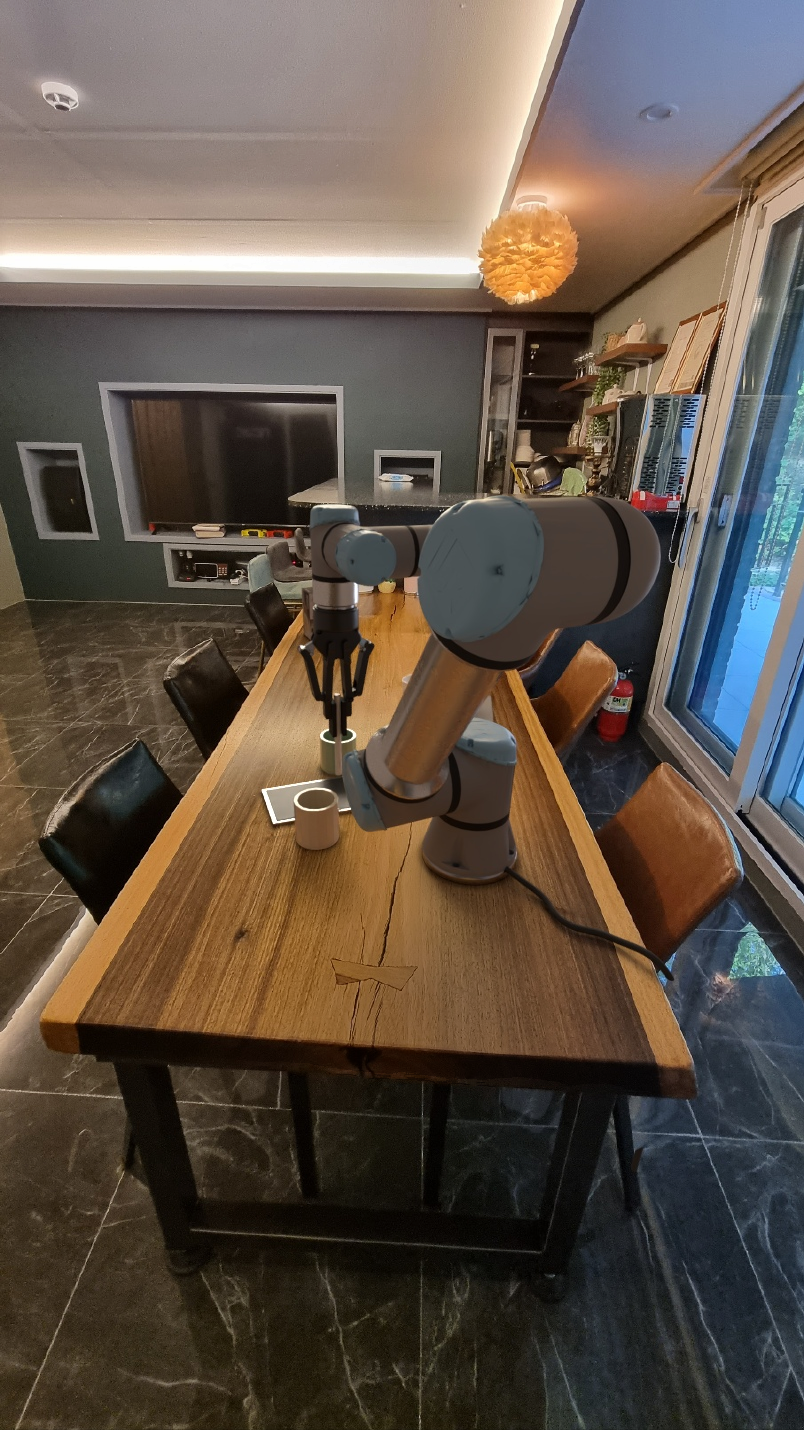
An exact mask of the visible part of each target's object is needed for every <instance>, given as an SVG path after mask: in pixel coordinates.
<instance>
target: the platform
mask: <svg viewBox="0 0 804 1430" xmlns="http://www.w3.org/2000/svg"><path fill="white" fill-rule="evenodd" d="M475 718H480V719H485V720H488V721H491V722H494V713H493V704H492V696H491V695H488V697H487V698H486V700H485V701H484V703H483V704H482V706H481V707H480V709H479V710H478V712H477V714H476V715H475Z"/></svg>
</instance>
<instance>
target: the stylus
mask: <svg viewBox="0 0 804 1430" xmlns="http://www.w3.org/2000/svg"><path fill="white" fill-rule="evenodd" d="M341 697H342V693H339V692H336V693H333V699H334V701H335V702H336V705H337V737H335V774H336V775H335V776H342V775H341V774H342V749H341Z"/></svg>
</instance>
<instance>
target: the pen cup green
mask: <svg viewBox="0 0 804 1430" xmlns="http://www.w3.org/2000/svg"><path fill="white" fill-rule="evenodd" d="M341 749H342V759H343V756H344V755H345V754H346V753H348V752H351V751H353V750H357V733H356V732H355V730H353V729H350V728H347V736H343V735H342V734H341ZM319 755H320V757H319V758H320V768H321V770H322V771H323V772H324V773H327V774H329V775H334V776H337V775H336V774H335V737H334V738H333V737H332V735H331V734H330V732H329V728H327V729H325V730H323V731H322V732H320V734H319ZM340 776H342V774H341V775H340Z"/></svg>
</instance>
